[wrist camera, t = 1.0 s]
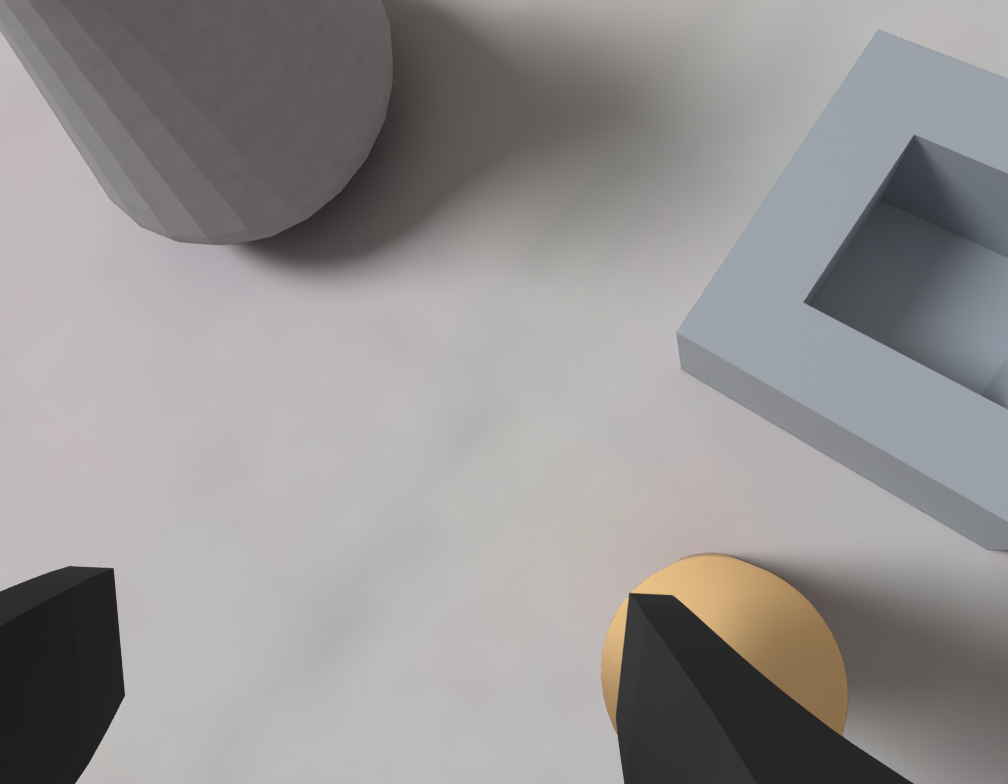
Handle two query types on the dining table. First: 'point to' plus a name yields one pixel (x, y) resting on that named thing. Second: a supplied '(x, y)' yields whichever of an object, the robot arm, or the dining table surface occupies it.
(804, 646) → the peg
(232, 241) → the coffee pot
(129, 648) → the dining table surface
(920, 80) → the socket block
